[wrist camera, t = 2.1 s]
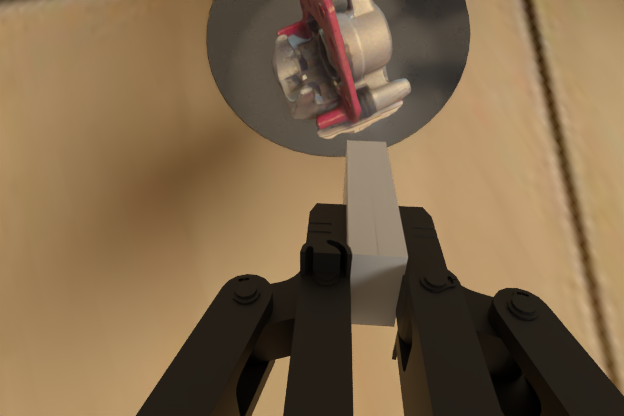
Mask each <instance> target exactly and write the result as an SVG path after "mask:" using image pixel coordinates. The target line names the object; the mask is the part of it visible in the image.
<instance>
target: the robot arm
mask: <svg viewBox="0 0 624 416" xmlns="http://www.w3.org/2000/svg"><path fill="white" fill-rule="evenodd" d="M396 318H397V326H398V331H397V336H396V340H395V345H394V350H393V356H392V359H394V360H396V357H397V359H398V367H399V375H400V384H401V392H402V400H403V409H404V416H624V396H623V395H622V394H621V392H620V391H619V390H618V389H617V388H616V387H615V385H614V384H613V383H612V382H611V381H610V379H609V378H608V377H607V376H606V375H605V373H604V372H603V371H602V370H601V369H600V367H599V366H598V365H597V364H596V363H595V362H594V360H593V359H592V358H591V357H590V356H589V354H588V353H587V352H586V351H585V350H584V348H583V347H582V346H581V345H580V344H579V342H578V341H577V340H576V339H575V338H574V336H573V335H572V334H571V333H570V332H569V331H568V329H567V328H566V327H565V326H564V325H563V323H562V322H561V321H560V320H559V319H558V317H557V316H556V315H555V314H554V313H553V311H552V310H551V309H550V308H549V307H548V306H547V304H546V303H544V302H543V301H542V300H541V299H540V298H539V297H537V296H536V295H534V294H532V293H530V292H528V291H525V290H521V289H518V288H505V289H502V290H499V291H498V292H497V293H496V295H495V296H494V297H491V296H487V295H484V294H481V293H477V292H474V291H472V290H469V289H467V288H465V287H463V286H461V284H460V282H459V280H458V279H457V277H456V276H455V275H454V274H453V273H451V272H450V271H449V270H447V267H446V263H445V260H444V257H443V253H442V250H441V247H440V243H439V240H438V238H437V233H436V230H435V227H434V223H433V220H432V217H431V216H430V215H429V214H428V213H427V212H426V211H425V209H424V208H423V207H405V206H398V202H397V197H396V192H395V186H394V181H393V176H392V171H391V166H390V161H389V155H388V150H387V145H386V142H375V141H350V140H347V149H346V163H345V178H344V192H343V205H342V204H321V203H317V204H316V205H315V206H314V208H313V209H312V210H311V211H310V215H309V224H308V233H307V240H306V243H305V244H304V245H303V246H302V249H301V251H300V272H299V273H298V274H296V275H295V276H294V277H292V278H290V279H288V280H285V281H282V282H278V283H273V284H270V283H269V282H268V281H267V280H266V279H265V278H263V277H260V276H258V275H251V274H246V275H241V276H237V277H235V278H233V279H231V280H229V281H228V282H227V283H226V284H225V285H224V286H223V287H222V288H221V290H220V291H219V293H218V294H217V296H216V297H215V299H214V300H213V302H212V303H211V305H210V306H209V308H208V309H207V311H206V312H205V314H204V315H203V317H202V318H201V320H200V321H199V323H198V324H197V326H196V327H195V329H194V330H193V331H192V333H191V334H190V336H189V337H188V339H187V340H186V342H185V343H184V345H183V346H182V348H181V349H180V351H179V352H178V354H177V355H176V357H175V358H174V360H173V361H172V363H171V364H170V366H169V367H168V369H167V370H166V372H165V373H164V375H163V376H162V378H161V379H160V381H159V382H158V383H157V385H156V386H155V388H154V389H153V391H152V392H151V394H150V395H149V397H148V398H147V400H146V401H145V403H144V404H143V406H142V407H141V409H140V410H139V412H138V413H137V415H136V416H252V413H253V411H254V409H255V406H256V404H257V402H258V400H259V397H260V395H261V393H262V390H263V388H264V386H265V383H266V381H267V379H268V377H269V374H270V372H271V370H272V367H273V365H274V363H275V359H279V358H283V357H287V356H290V364H289V373H288V381H287V389H286V397H285V405H284V414H283V416H353V380H352V333H351V324H361V325H377V326H393V327H394V324H395V319H396Z"/></svg>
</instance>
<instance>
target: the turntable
mask: <svg viewBox="0 0 624 416" xmlns="http://www.w3.org/2000/svg"><path fill="white" fill-rule="evenodd" d="M336 1H338V0H332V2H336ZM373 2H374V3H375V4H376V5H377V6H378V7H379V8H380V10H381V11H382V12H383V14H384V16H385V18H386V20H387V23H388V26H389V29H390V32H391V37H392V55H391V58H390V60H389V62H388V63H387V64H386V71H387V76H388V80H389V81H391V80H396V79H403V78H405V79H407V80H408V81H409V83H410V86H411V92H410V93H409V94H408V95H406V96H405V97H404V98H402V99H401V100H402V101H403V104H402V106H401V107H399V108H398V110H397V111H396V112H394V113H393V114H391V115H390V116H388V117H386V118H383V119H380V120H378V121H376V122H374V123H372V124H371V125H370V126H368V127H366V128H365V129H363V130H361V131H359V132H357V133H354V134H349V133H340V134H338V135H336V136H335V137H334V138H333V139H325V138H322V137H319V135H318V134H317V132H316V131H317V130H319V128H318V127H317V125H316V119H294V118H293V117H292V116H291V113H290V111H289V108H288V105H287V103H286V100H285V96H284V93H283V91H282V90H281V88H280V86H279V85H278V83H277V81H276V78H275V76H274V73H273V70H272V63H271V62H272V58H273V53H274V47H275V42H276V39H277V36H276V32H277V31H278V30H280V29H282V28H284V27H286V26H288V25H291V24H294V23H296V22H298V21H300V20H302V18H303V12H302V9H301V5H300V0H214V1H213V4H212V7H211V10H210V14H209V20H208V25H207V50H208V58H209V62H210V66H211V70H212V74H213V76H214V78H215V81H216V83H217V86H218V88H219V90H220V91H221V93H222V95H223V96H224V98H225V100H226V102H227V103H228V104H229V106H230V107H231V108H232V109H233V111H234V112H235V113H236V114H237V115H238V116H239V117H240V118H241V119H242V120H243V121H244V122H245V123H246V124H247V125H248V126H249V127H250V128H252V129H253V130H255V131H256V132H257V133H259V134H260V135H262V136H263V137H265V138H267V139H269V140H270V141H272V142H274V143H276V144H278V145H280V146H283V147H286V148H288V149H291V150H294V151H297V152H302V153H306V154H310V155H318V156H327V157H342V156H346V149H347V140H350V141H375V142H386V145H387V147H389V146H391V145H393V144H396V143H398V142H400V141H402V140H404V139H405V138H407V137H409V136H410V135H412V134H414V133H415V132H417V131H418V130H419V129H420V128H422V127H423V126H424V125H426V124H427V123H428V122H429V121H430V120H431V119H432V118H433V117H434V116H435V115H436V114H437V113H438V112H439V111H440V110H441V109H442V108H443V106H444V105H445V104H446V102H447V101H448V99H449V98H450V97H451V95H452V94H453V92H454V90H455V88H456V86H457V84H458V83H459V81H460V78H461V76H462V73H463V70H464V68H465V65H466V61H467V56H468V51H469V42H470V25H469V15H468V11H467V6H466V2H465V0H373Z"/></svg>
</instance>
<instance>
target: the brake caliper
mask: <svg viewBox="0 0 624 416" xmlns="http://www.w3.org/2000/svg"><path fill="white" fill-rule="evenodd" d="M300 5H301V9H302V12H303V18H302V20H300V21H298V22H296V23H294V24H291V25H288V26H286V27H284V28H282V29H280V30H278V31H277V32H276V36H277V39H276V42H275V47H274V53H273V58H272V62H271V63H272V70H273V73H274V76H275V78H276V81H277V83H278V85H279V86H280V88H281V90H282V91H283V93H284V96H285V100H286V103H287V105H288V108H289V111H290V113H291V116H292V117H293V118H294V119H316V125H317V127H318V128H319V130H317V131H316V132H317V134H318V135H319V137H322V138H325V139H333V138H334V137H335V136H336V135H338V134H340V133H349V134H354V133H357V132H359V131H361V130H363V129H365V128H366V127H368V126H370V125H371V124H372V123H374V122H376V121H378V120H380V119H383V118H386V117H388V116H390V115H391V114H393V113H394V112H396V111H397V110H398V108H399V107H401V106H402V104H403V101H402V100H401V99H402V98H404V97H405V96H406V95H408V94H409V93H410V92H411V86H410V83H409V81H408V80H407V79H405V78H403V79H396V80H391V81H389V80H388V76H387V71H386V64H387V63H388V62H389V60H390V58H391V55H392V37H391V32H390V29H389V26H388V23H387V20H386V18H385V16H384V14H383V12H382V11H381V10H380V8H379V7H378V6H377V5H376V4H375V3H374V2H373V0H338V1H336V2H332V0H300Z"/></svg>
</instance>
